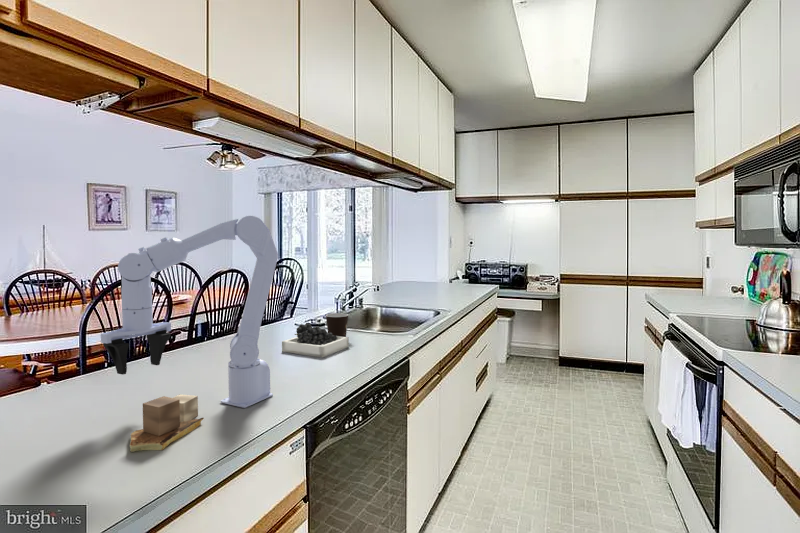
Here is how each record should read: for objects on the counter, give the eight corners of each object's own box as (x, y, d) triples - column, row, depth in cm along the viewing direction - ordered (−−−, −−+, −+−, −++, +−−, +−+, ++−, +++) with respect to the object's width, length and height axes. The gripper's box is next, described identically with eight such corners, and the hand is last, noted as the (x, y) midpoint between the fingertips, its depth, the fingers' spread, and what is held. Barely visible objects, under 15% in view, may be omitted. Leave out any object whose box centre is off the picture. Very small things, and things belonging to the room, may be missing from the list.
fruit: (336, 319, 158) (294, 320, 154) (340, 330, 151) (295, 332, 147) (335, 339, 162) (293, 341, 157) (338, 352, 154) (294, 354, 150)
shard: (203, 425, 92) (203, 415, 92) (209, 443, 84) (209, 432, 84) (130, 439, 85) (130, 428, 85) (129, 460, 77) (129, 448, 77)
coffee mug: (341, 344, 162) (341, 317, 161) (321, 342, 165) (321, 316, 165) (355, 337, 173) (355, 312, 172) (336, 336, 176) (336, 311, 175)
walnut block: (164, 422, 88) (163, 396, 88) (180, 426, 86) (179, 399, 86) (143, 431, 84) (142, 403, 83) (159, 436, 82) (158, 407, 82)
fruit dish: (310, 342, 165) (310, 332, 165) (348, 347, 158) (348, 337, 157) (282, 351, 151) (281, 341, 151) (322, 357, 143) (322, 346, 143)
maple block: (180, 414, 96) (179, 394, 96) (198, 416, 96) (197, 395, 95) (165, 422, 92) (164, 401, 92) (184, 424, 91) (183, 403, 91)
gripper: (156, 302, 104) (158, 358, 104) (91, 311, 91) (93, 375, 91) (176, 304, 101) (177, 362, 101) (111, 313, 88) (113, 380, 88)
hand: (139, 369), depth 96 cm, fingers open, 7 cm apart
